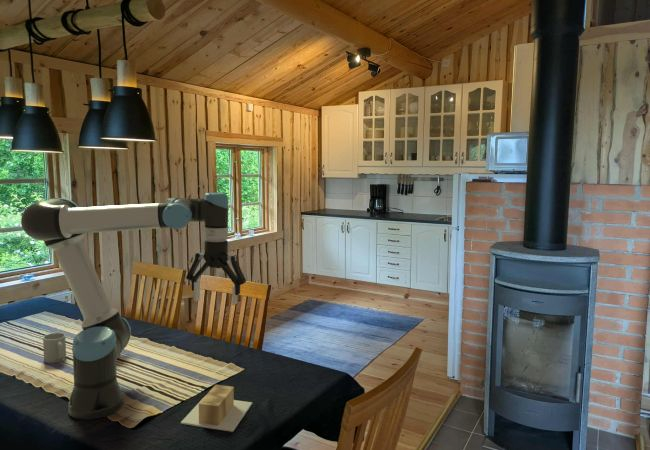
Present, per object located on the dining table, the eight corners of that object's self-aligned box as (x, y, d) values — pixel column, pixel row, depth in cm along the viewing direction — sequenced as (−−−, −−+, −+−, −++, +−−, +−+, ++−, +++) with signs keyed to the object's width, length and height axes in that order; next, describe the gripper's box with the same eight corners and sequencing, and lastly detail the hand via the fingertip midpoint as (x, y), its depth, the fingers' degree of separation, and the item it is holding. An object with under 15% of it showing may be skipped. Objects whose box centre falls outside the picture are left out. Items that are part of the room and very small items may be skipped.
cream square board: (180, 423, 138) (180, 422, 138) (205, 397, 154) (205, 395, 154) (232, 431, 135) (232, 430, 135) (252, 403, 151) (252, 402, 151)
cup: (61, 353, 182) (60, 331, 181) (72, 361, 176) (72, 338, 175) (40, 359, 177) (39, 336, 175) (51, 367, 170) (50, 343, 169)
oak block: (218, 425, 137) (233, 405, 149) (218, 406, 136) (233, 386, 148) (198, 422, 138) (215, 402, 150) (198, 403, 137) (215, 384, 149)
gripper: (175, 238, 155) (175, 301, 158) (248, 244, 151) (247, 309, 154) (186, 235, 163) (186, 295, 166) (256, 240, 158) (254, 302, 161)
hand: (215, 302), depth 160 cm, fingers open, 13 cm apart
